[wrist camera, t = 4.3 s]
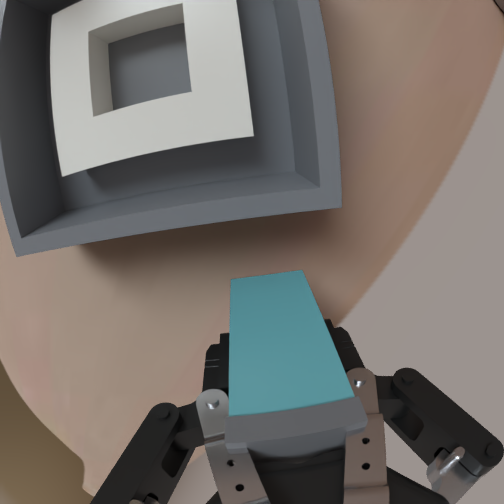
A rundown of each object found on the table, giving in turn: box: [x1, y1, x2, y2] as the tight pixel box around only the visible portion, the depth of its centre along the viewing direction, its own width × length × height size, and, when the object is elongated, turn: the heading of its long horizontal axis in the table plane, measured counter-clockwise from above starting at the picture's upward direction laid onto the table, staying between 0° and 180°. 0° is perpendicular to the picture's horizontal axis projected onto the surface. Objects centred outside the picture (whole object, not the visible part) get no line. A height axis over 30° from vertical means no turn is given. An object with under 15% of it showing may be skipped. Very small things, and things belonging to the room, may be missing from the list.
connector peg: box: [225, 270, 368, 464], centre depth 12 cm, size 4×4×10 cm
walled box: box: [0, 0, 342, 257], centre depth 12 cm, size 18×18×6 cm
